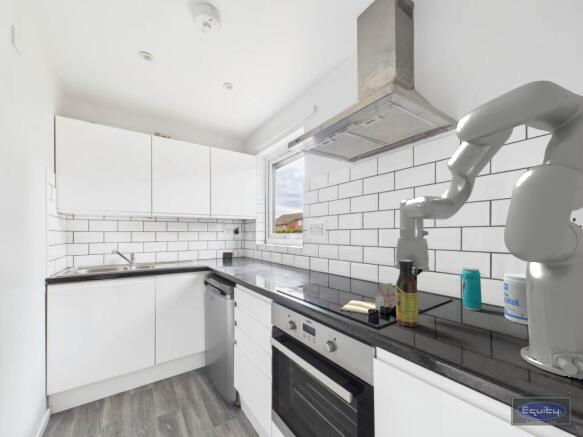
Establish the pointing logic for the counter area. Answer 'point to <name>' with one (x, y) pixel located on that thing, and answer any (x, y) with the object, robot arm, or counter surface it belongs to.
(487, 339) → the counter surface
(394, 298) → the tea bag
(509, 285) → the supplement tub
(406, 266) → the sauce bottle
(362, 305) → the cream folded towel
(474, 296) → the beverage can
